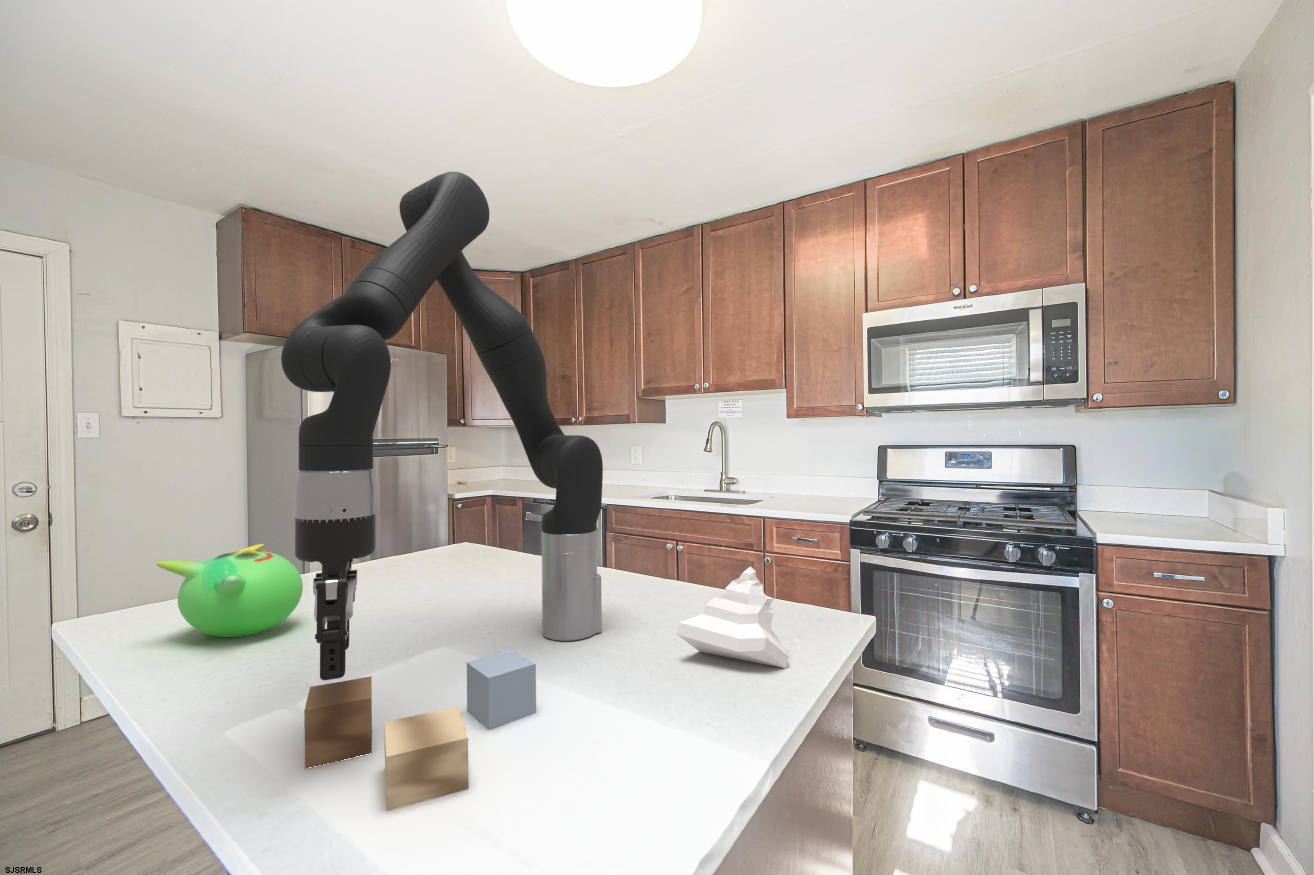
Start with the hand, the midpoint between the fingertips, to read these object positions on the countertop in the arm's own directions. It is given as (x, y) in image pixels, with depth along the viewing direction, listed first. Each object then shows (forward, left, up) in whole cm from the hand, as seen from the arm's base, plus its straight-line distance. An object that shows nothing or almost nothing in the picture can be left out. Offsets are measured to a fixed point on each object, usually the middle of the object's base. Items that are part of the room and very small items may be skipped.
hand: (335, 663), depth 61 cm
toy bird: (+17, -48, -9) cm, 51 cm away
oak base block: (-8, +10, -9) cm, 16 cm away
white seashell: (-53, -1, -9) cm, 54 cm away
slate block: (-17, 0, -9) cm, 20 cm away
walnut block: (0, 0, -9) cm, 9 cm away
